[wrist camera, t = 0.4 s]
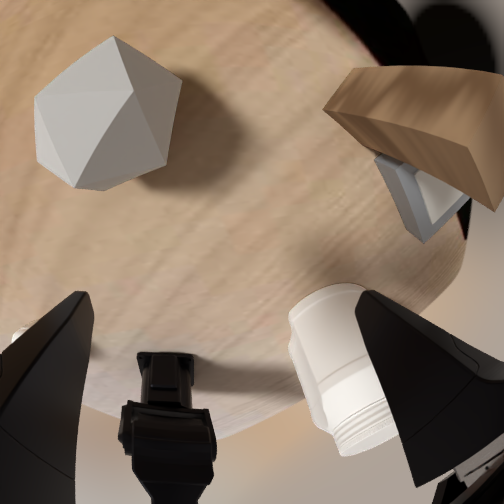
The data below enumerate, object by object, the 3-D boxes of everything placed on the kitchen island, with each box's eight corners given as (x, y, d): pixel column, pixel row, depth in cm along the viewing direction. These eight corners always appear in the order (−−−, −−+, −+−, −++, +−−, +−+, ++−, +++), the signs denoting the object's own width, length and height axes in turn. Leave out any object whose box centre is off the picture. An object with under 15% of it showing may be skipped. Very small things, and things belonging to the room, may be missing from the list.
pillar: (361, 144, 19) (494, 212, 8) (322, 109, 17) (467, 147, 6) (389, 105, 18) (526, 146, 7) (353, 68, 16) (502, 75, 5)
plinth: (406, 229, 25) (425, 244, 22) (373, 159, 20) (396, 170, 17) (457, 180, 23) (477, 191, 20) (434, 109, 18) (459, 115, 15)
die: (199, 63, 15) (105, -13, 6) (216, 178, 15) (80, 143, 6) (112, 108, 17) (15, 77, 8) (117, 209, 18) (-1, 212, 9)
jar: (355, 342, 33) (404, 434, 21) (287, 360, 32) (323, 468, 20) (372, 274, 27) (454, 384, 14) (287, 293, 26) (348, 437, 13)
